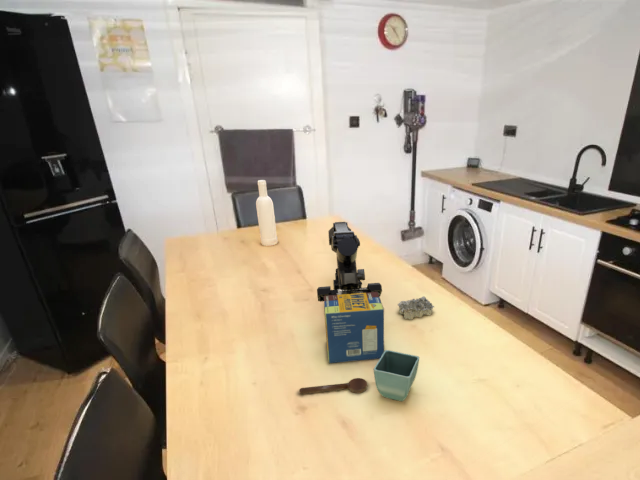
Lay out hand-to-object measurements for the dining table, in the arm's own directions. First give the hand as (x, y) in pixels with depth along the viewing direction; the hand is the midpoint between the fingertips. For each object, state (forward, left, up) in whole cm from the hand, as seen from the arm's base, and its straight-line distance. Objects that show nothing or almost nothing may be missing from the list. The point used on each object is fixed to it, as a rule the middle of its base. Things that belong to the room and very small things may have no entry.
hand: (352, 320), depth 117 cm
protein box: (+5, -3, -7) cm, 9 cm away
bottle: (-94, +28, -7) cm, 98 cm away
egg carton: (+2, +26, -7) cm, 27 cm away
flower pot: (+26, -8, -7) cm, 28 cm away
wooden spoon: (+14, -17, -7) cm, 23 cm away
